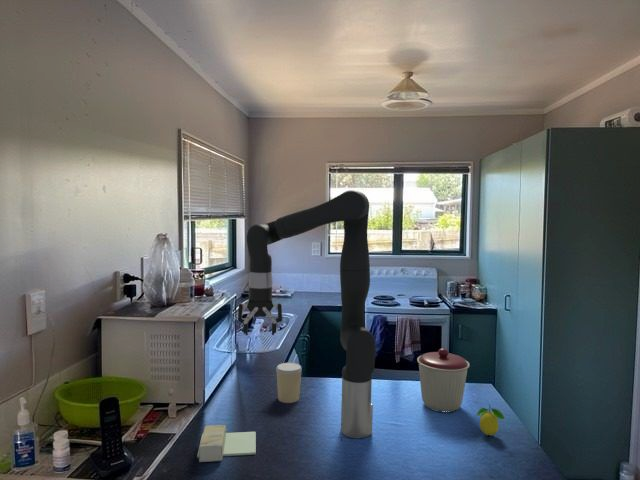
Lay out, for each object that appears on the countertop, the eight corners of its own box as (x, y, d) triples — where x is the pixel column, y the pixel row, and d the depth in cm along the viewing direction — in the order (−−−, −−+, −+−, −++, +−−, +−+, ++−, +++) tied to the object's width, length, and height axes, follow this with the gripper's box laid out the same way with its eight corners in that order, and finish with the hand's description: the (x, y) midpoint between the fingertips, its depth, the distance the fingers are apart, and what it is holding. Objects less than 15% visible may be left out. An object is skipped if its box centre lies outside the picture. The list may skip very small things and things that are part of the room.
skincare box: (225, 424, 131) (223, 444, 119) (225, 439, 131) (223, 460, 119) (204, 425, 130) (199, 446, 118) (204, 440, 130) (199, 462, 118)
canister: (405, 404, 159) (407, 347, 158) (434, 392, 171) (436, 338, 170) (449, 423, 146) (451, 360, 145) (477, 408, 158) (480, 350, 156)
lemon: (503, 440, 135) (505, 408, 134) (485, 441, 134) (487, 409, 133) (492, 430, 141) (493, 399, 141) (475, 431, 141) (476, 400, 140)
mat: (255, 433, 136) (255, 431, 136) (255, 454, 124) (255, 452, 124) (202, 436, 134) (202, 434, 134) (197, 457, 122) (197, 455, 122)
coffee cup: (297, 392, 168) (297, 361, 168) (304, 402, 160) (304, 369, 159) (273, 395, 165) (273, 363, 165) (279, 405, 157) (279, 372, 156)
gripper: (237, 287, 139) (237, 338, 140) (283, 287, 141) (282, 337, 142) (238, 283, 146) (238, 332, 147) (281, 283, 148) (281, 331, 149)
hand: (259, 334), depth 145 cm, fingers open, 8 cm apart
